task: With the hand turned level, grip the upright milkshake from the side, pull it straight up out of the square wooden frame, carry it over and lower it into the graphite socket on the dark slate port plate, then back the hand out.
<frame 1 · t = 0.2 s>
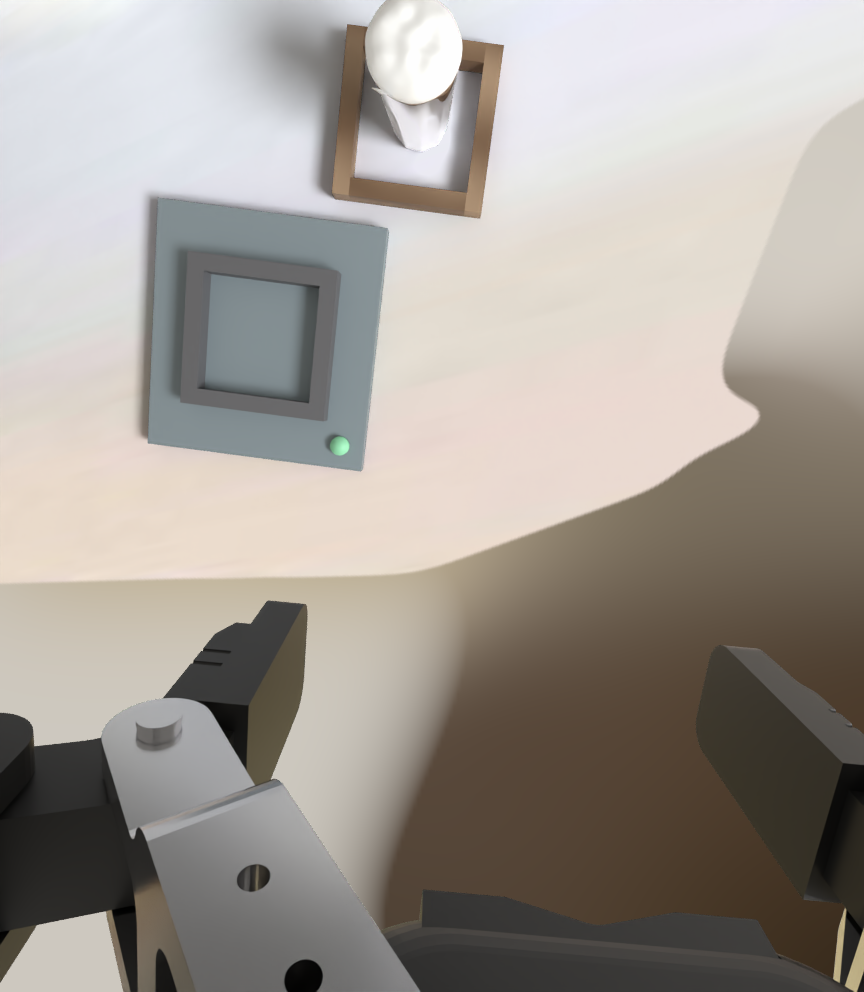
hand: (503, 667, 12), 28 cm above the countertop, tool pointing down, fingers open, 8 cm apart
square wooden frame: (416, 129, 36), on the countertop
port plate: (267, 340, 38), on the countertop
milkshake: (416, 131, 36), on the countertop
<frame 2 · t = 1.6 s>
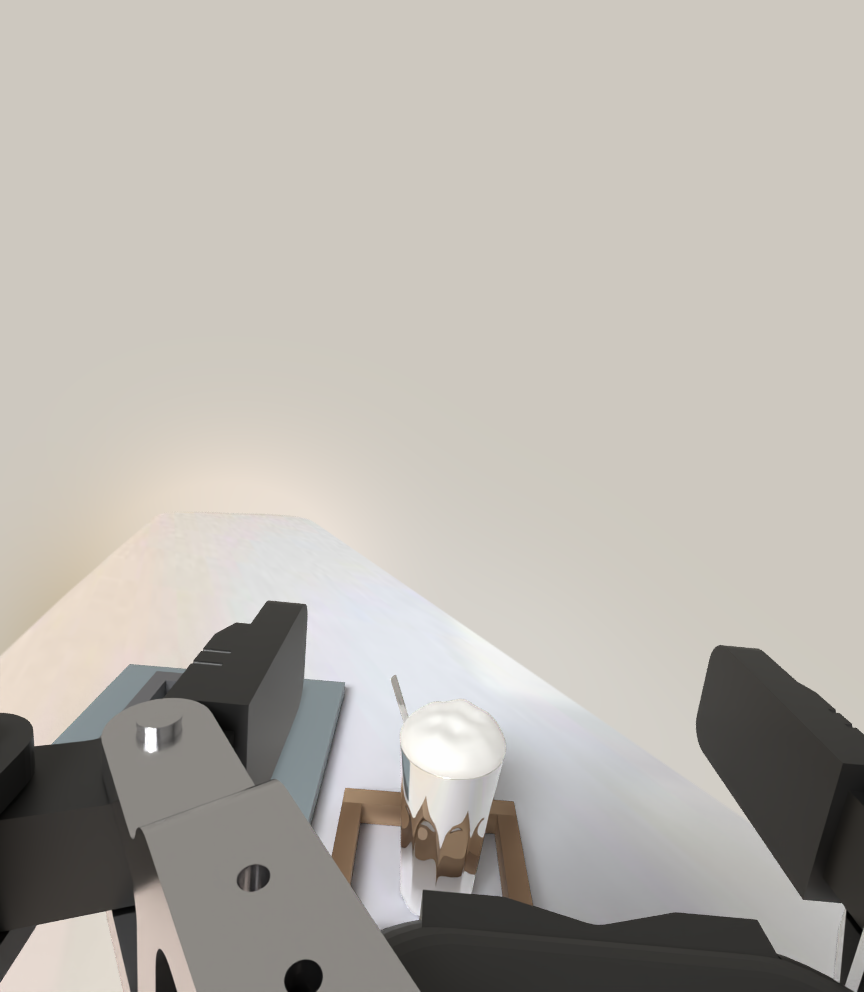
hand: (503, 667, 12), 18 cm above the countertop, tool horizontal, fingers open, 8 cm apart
square wooden frame: (427, 887, 27), on the countertop
port plate: (199, 750, 35), on the countertop
milkshake: (426, 890, 27), on the countertop
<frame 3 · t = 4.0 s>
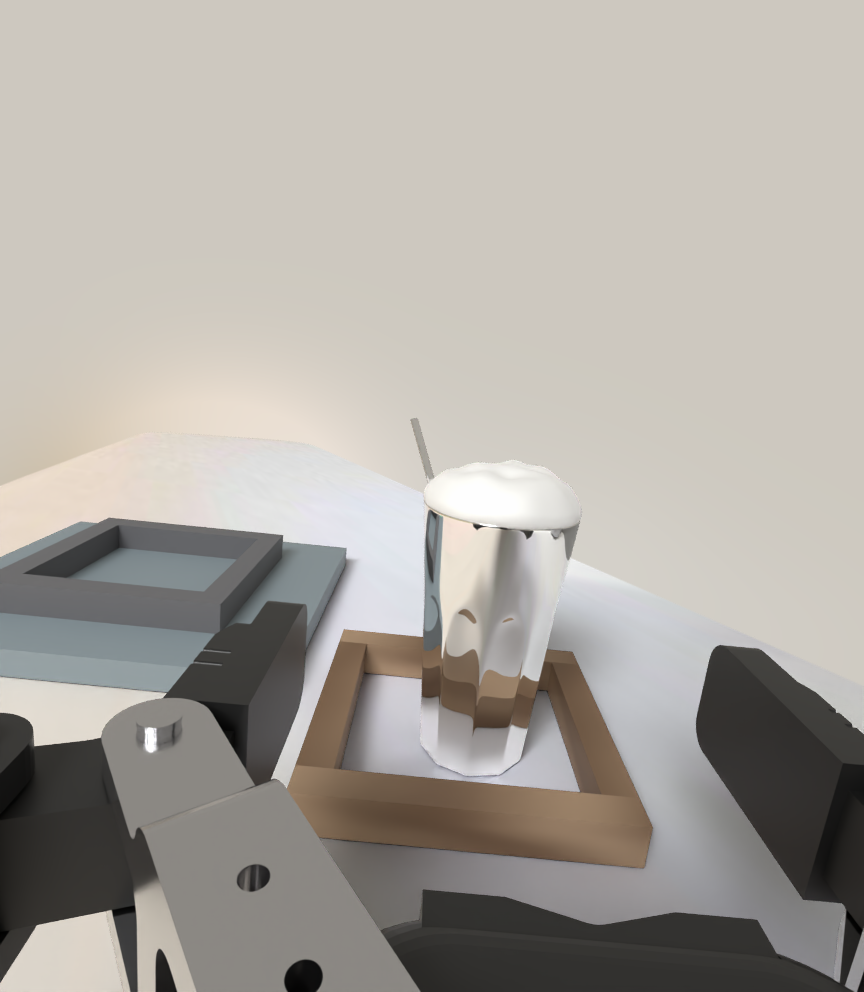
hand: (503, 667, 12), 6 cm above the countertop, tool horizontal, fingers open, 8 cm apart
square wooden frame: (458, 738, 19), on the countertop
port plate: (155, 600, 27), on the countertop
milkshake: (457, 744, 19), on the countertop
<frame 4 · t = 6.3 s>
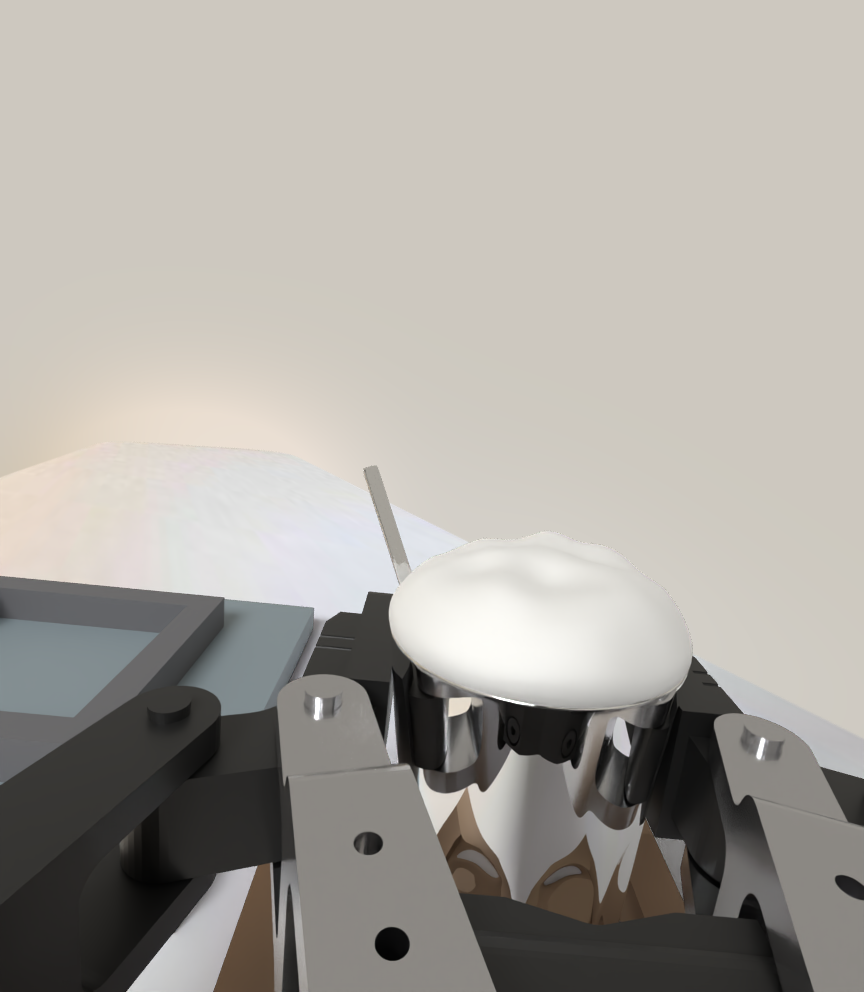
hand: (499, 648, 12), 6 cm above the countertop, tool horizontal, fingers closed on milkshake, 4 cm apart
port plate: (30, 704, 19), on the countertop
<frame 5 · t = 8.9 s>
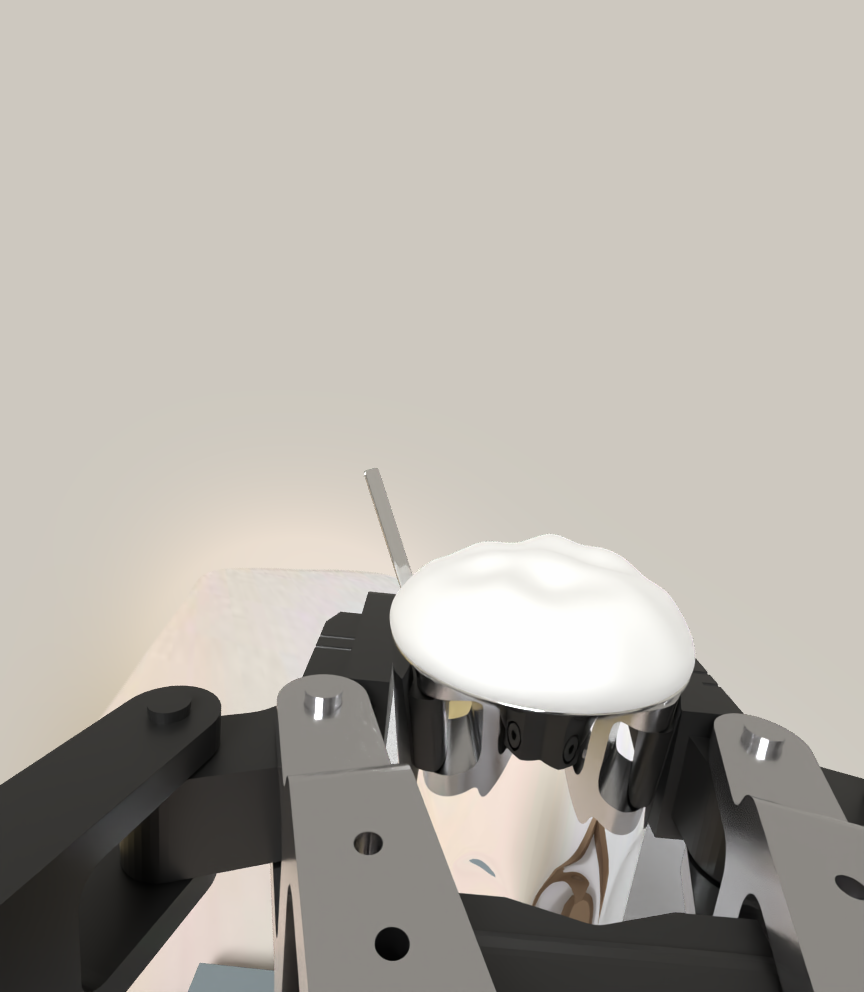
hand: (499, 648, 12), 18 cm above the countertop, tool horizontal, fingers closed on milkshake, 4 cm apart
when the fingers open (8 cm above the countertop, at t = 11.9 s): milkshake moves 2 cm, resting on port plate.
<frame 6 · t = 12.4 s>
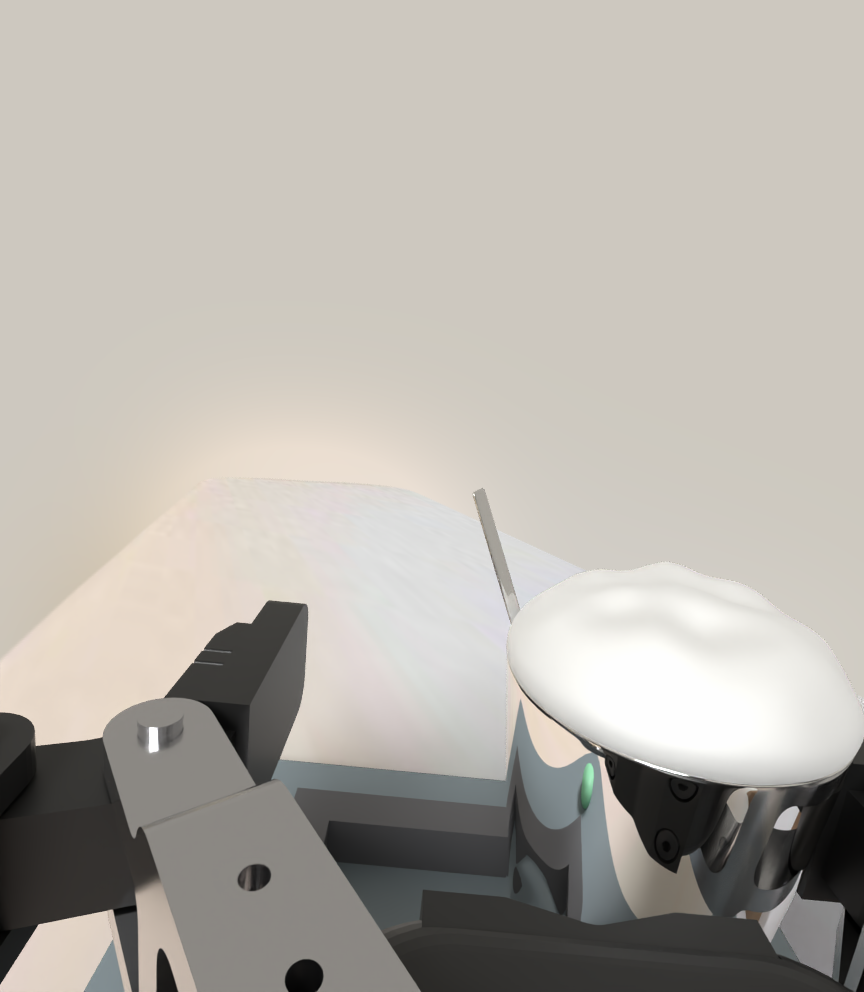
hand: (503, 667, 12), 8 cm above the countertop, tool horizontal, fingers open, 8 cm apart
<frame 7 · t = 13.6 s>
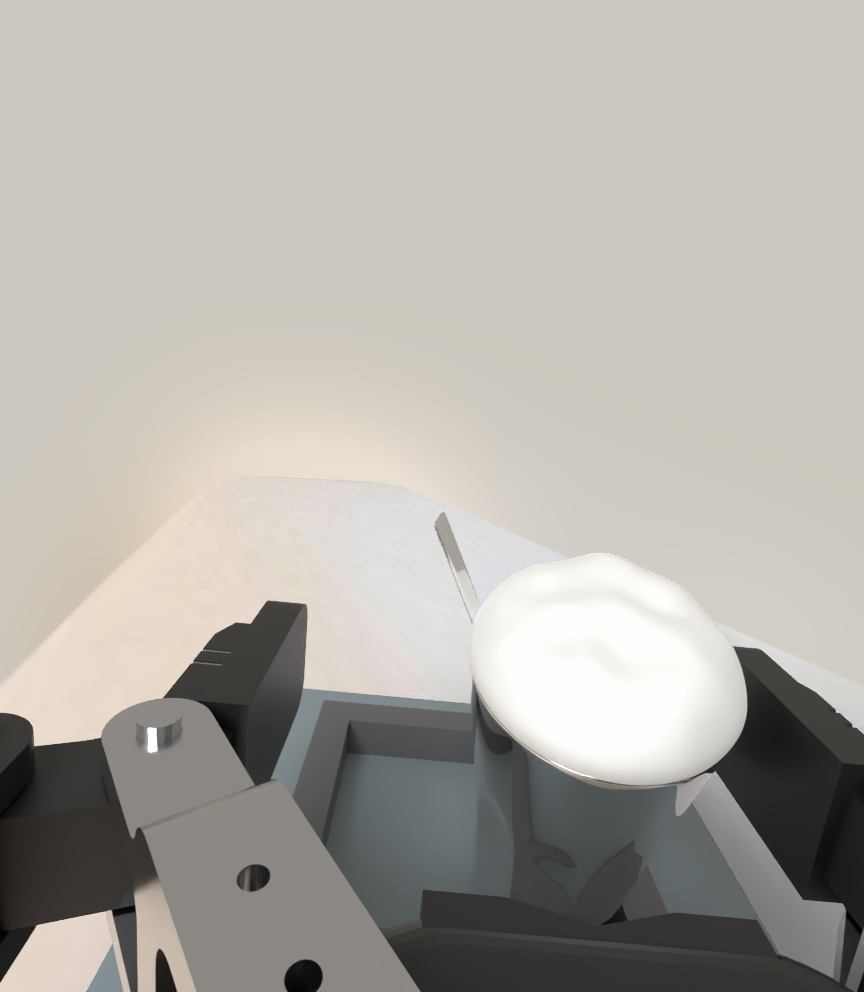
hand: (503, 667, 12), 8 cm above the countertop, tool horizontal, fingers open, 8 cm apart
port plate: (453, 879, 16), on the countertop
milkshake: (521, 885, 15), point 1 cm above the countertop, touching port plate
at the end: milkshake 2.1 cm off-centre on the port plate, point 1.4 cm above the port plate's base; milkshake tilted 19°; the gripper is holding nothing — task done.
